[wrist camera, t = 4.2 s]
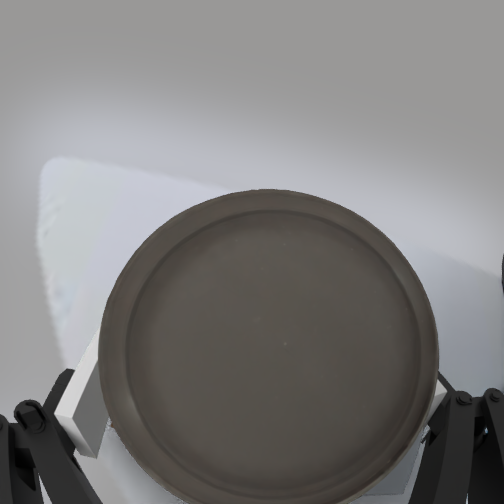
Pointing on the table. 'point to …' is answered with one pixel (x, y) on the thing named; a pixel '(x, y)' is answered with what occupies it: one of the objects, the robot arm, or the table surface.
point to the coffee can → (268, 352)
